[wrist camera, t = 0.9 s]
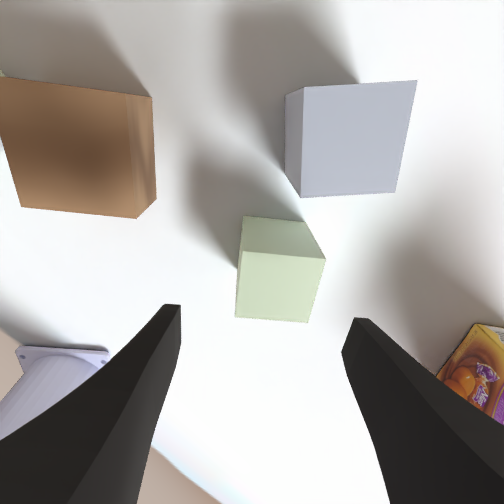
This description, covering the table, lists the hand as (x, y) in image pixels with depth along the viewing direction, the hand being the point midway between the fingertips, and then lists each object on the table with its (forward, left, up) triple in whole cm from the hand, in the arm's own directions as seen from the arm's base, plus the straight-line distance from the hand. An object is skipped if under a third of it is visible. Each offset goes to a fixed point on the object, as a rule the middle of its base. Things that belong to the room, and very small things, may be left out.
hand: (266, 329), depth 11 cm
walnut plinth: (+5, +10, -10) cm, 15 cm away
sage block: (-1, -1, -10) cm, 10 cm away
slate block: (+7, -3, -10) cm, 12 cm away
